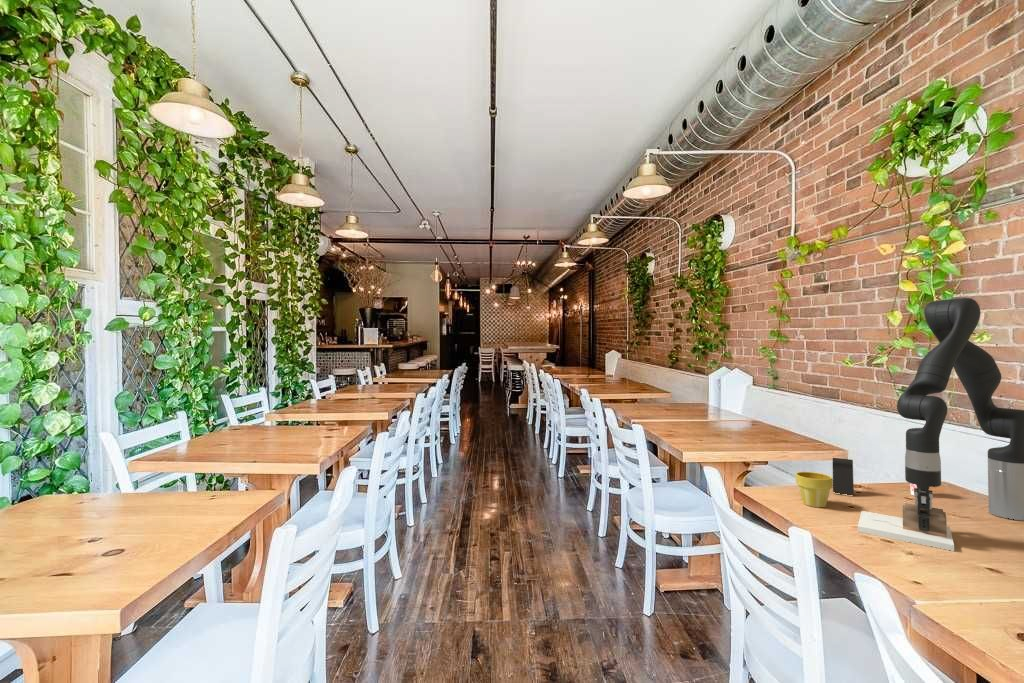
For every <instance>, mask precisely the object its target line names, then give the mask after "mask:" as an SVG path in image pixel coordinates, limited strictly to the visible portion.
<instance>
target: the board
mask: <svg viewBox="0 0 1024 683" xmlns="http://www.w3.org/2000/svg"><path fill="white" fill-rule="evenodd" d="M857 532H858V533H861V534H867V535H872V536H875V537H876V536H877V537H881V538H885V539H887V538H888V539H890V540H891V539H893V540H896V541H901V542H905V541H906V542H907V543H910V542H911V544H915V543H916V545H920V544H922V545H921V546H925V545H927V546H926V547H930V546H933V547H932V548H935V547H937V548H936V549H940V548H941V549H940V550H944V549H946V550H945V551H949V550H951V551H950V552H955V544H954V539H953V534H952V529H951V526H948V525H947V537H942V536H937V535H932V534H927V533H921V532H916V531H911V530H906V529H903V517H899V516H893V515H886V514H883V513H876V512H872V511H871V512H870V511H865V510H861V512H860V517H859V520H858V524H857Z"/></svg>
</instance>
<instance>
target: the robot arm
mask: <svg viewBox="0 0 1024 683" xmlns="http://www.w3.org/2000/svg"><path fill="white" fill-rule="evenodd" d="M923 314H924V319H925V323H926V324H927V326H928V328H929V330H930V331H931V333H932V334H933V336H935V339H936V340H937V341H938V342H939V343H938V344H937V345H936V346H935V347H933V348H932V349H931V350H930V351H928V352H927V353H926V355H924V357H923V358H922V359H921V361H920V363H919V365H918V368H917V371H916V372H915V376H914V379H913V380H912V382H910V384H909V385H908V386H907V387H906V389H905V390H904V391H903V392H902V394H901V395H900V397H898V400H897V402H896V410H897V413H898V414H899V415H900V416H901V417H902V418H904V419H907V420H916V421H924V422H925V423H924V426H922V427H914V428H913V427H911V428H908V429H907V430H906V432H905V455H904V472H905V474H904V477H905V482H907V483H909V484H910V483H911V484H916V485H917V488H914V495H913V497H914V498H915V499H914V500H915V501H914V502H915V504H914V505H915V506H916V507H917V508H918V512H917V515H918V519H919V530H922V531H927V532H928V531H929V518H930V517H931V515H930V510H931V509H932V508H933V502H932V501H933V499H934V495H933V490H931V489H930V488H931V487H932V488H938V487H941V485H942V461H941V459H942V458H941V455H940V436H941V431H942V428H943V426H944V422H945V420H946V418H947V415H948V404H947V403H946V402H945V400H944V399H943V398H942V397H940V396H935V395H934V396H933V395H932V394H938V393H943V392H944V391H945V390H947V386H948V384H949V380H950V377H951V374H952V372H953V369H954V372H955V374H956V376H957V377H958V379H959V381H960V382H961V384H962V386H963V388H964V390H965V392H966V394H967V396H968V398H969V401H970V403H971V405H972V407H973V410H974V414H975V416H976V419H977V422H978V424H979V426H980V429H981V430H982V431H983V432H984V433H985V434H986V435H988V436H991V437H997V438H1003V439H1009V443H1008V445H1004V446H1000V447H999V446H997V447H991V448H989V449H988V450H987V487H988V488H987V493H988V495H987V496H988V497H987V498H988V504H987V505H988V513H989V514H992V515H993V516H996V517H998V518H999V517H1000V518H1003V519H1008V518H1009V520H1013V519H1014V521H1021V522H1022V521H1024V409H1017V408H1009V407H1006V408H1005V407H999V406H998V407H997V405H996V404H995V403H994V402H993V398H992V397H993V394H994V393H995V392H996V390H997V389H998V387H999V385H1000V384H1001V381H1002V373H1001V371H1000V368H999V367H998V364H997V362H996V361H995V360H996V359H995V358H994V357H993V355H991V354H990V353H989V352H988V351H986V350H984V349H983V348H981V347H980V346H979V345H977V344H975V343H973V342H972V341H970V340H969V339H971V337H972V334H973V333H974V331H975V329H976V328H977V326H978V325H979V321H980V318H981V308H980V305H979V303H978V302H977V301H976V300H975V299H973V298H972V297H971V298H970V297H960V298H959V297H958V298H951V299H949V298H948V299H939V300H933V301H931V302H928V303H927V304H926V305H925V307H924V311H923ZM921 508H922V509H927V513H926V512H920V509H921Z"/></svg>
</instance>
